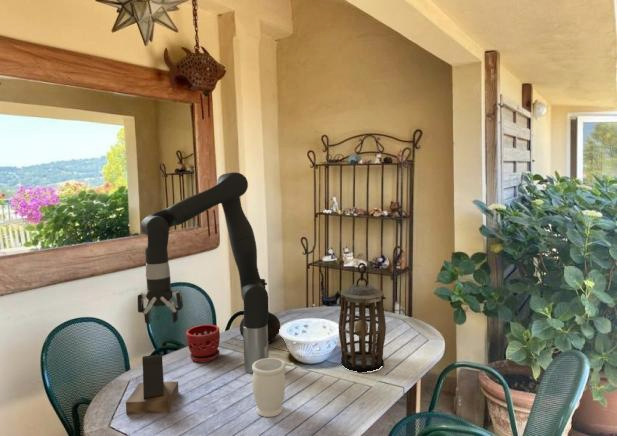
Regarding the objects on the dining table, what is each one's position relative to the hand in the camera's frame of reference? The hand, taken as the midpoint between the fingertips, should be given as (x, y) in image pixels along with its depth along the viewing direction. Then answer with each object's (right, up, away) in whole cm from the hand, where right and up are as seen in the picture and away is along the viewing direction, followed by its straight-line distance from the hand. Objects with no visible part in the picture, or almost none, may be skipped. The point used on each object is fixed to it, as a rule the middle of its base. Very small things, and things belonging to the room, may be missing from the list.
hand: (161, 323), depth 150 cm
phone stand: (-1, -22, -4) cm, 22 cm away
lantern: (+70, -22, +24) cm, 77 cm away
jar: (+37, -26, -9) cm, 46 cm away
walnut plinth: (-1, -25, -4) cm, 26 cm away
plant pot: (+7, -22, +32) cm, 39 cm away
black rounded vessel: (+28, -20, +50) cm, 61 cm away
